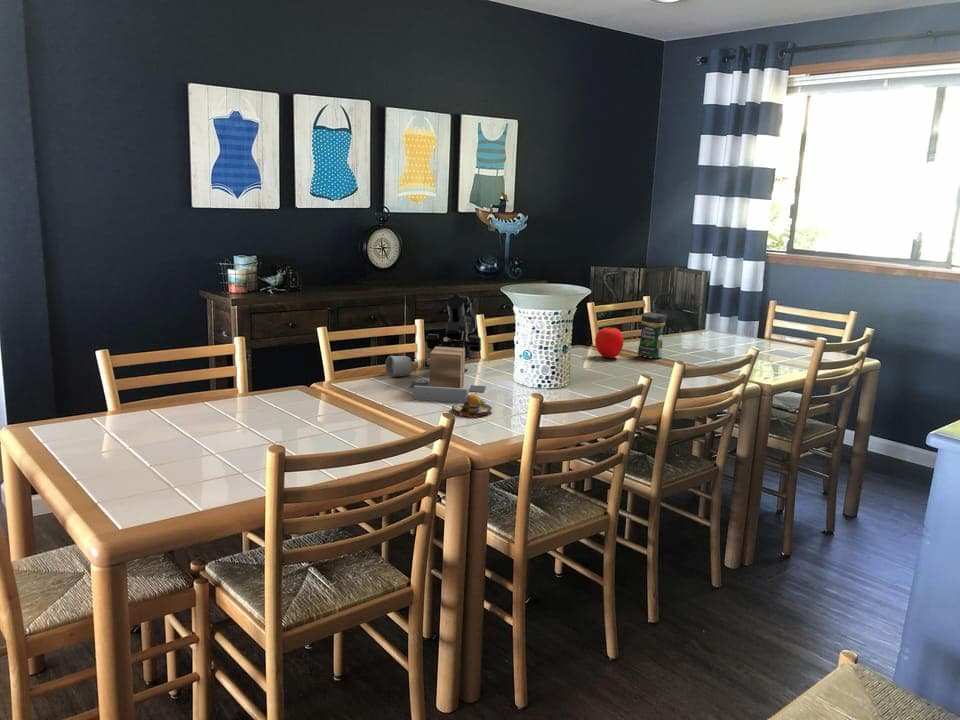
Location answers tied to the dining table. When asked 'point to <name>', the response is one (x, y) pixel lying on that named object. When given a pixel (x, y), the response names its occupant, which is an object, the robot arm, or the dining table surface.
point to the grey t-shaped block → (440, 393)
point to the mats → (472, 389)
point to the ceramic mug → (398, 366)
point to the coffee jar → (651, 335)
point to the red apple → (609, 342)
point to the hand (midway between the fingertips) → (451, 363)
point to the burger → (472, 407)
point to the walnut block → (447, 367)
